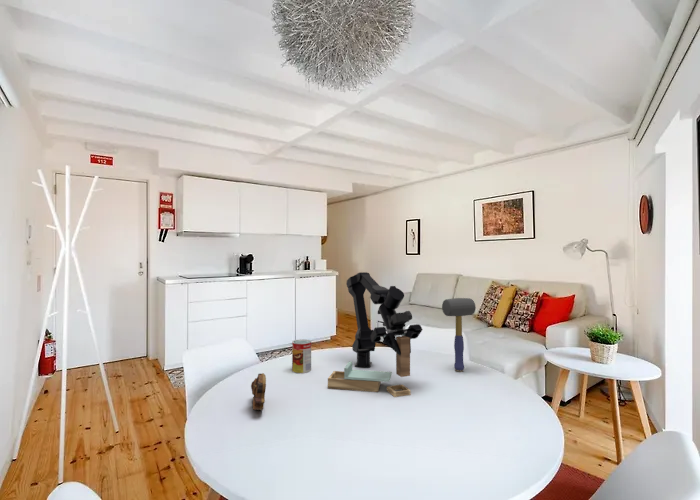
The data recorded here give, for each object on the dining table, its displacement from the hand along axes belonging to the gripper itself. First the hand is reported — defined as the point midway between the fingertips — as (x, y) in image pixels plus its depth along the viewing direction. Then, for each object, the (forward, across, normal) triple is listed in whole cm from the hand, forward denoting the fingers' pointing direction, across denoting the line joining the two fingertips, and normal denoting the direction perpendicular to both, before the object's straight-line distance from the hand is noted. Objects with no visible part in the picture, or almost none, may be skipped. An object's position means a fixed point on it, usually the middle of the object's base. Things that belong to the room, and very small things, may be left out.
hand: (405, 353), depth 123 cm
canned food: (-17, -27, +37) cm, 49 cm away
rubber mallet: (0, +33, +19) cm, 38 cm away
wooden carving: (+5, -48, +14) cm, 51 cm away
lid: (0, -9, +14) cm, 17 cm away
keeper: (+9, -2, +10) cm, 14 cm away
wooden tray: (0, -13, +19) cm, 23 cm away
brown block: (+4, 0, +6) cm, 8 cm away
